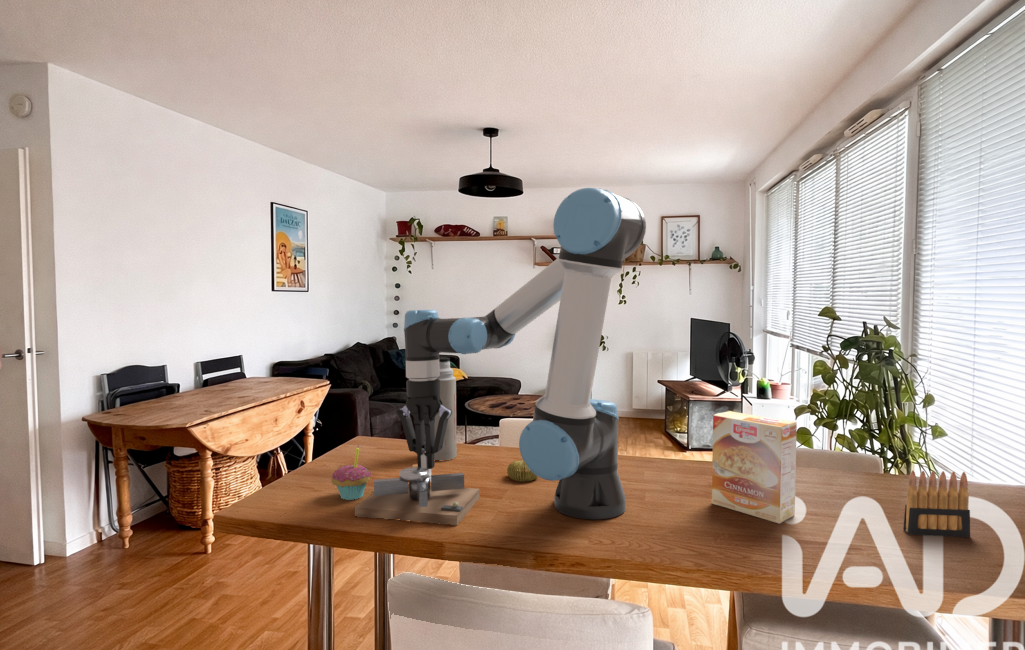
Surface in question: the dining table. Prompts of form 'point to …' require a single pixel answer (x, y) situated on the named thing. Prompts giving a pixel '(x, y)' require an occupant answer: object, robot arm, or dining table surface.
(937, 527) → the ammunition clip
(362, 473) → the cupcake
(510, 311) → the robot arm
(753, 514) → the coffeecake box
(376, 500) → the stand
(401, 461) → the dining table surface
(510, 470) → the sculpture
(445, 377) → the thermos bottle
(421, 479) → the capstan
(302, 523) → the dining table surface
